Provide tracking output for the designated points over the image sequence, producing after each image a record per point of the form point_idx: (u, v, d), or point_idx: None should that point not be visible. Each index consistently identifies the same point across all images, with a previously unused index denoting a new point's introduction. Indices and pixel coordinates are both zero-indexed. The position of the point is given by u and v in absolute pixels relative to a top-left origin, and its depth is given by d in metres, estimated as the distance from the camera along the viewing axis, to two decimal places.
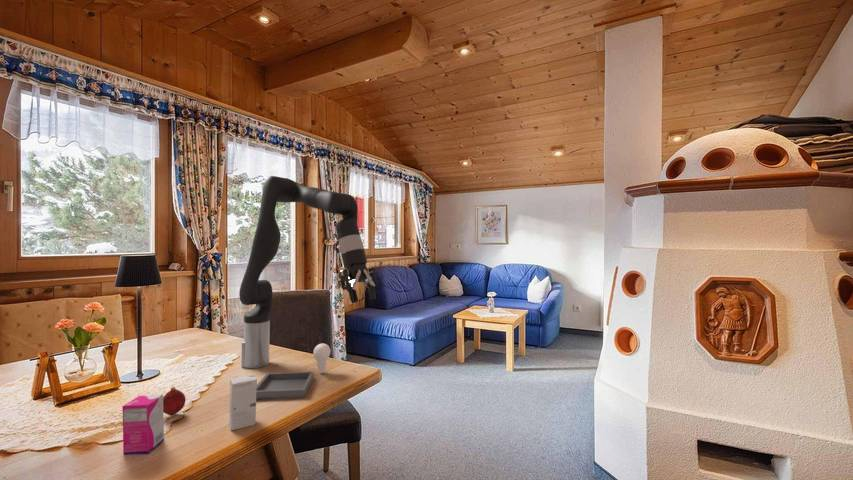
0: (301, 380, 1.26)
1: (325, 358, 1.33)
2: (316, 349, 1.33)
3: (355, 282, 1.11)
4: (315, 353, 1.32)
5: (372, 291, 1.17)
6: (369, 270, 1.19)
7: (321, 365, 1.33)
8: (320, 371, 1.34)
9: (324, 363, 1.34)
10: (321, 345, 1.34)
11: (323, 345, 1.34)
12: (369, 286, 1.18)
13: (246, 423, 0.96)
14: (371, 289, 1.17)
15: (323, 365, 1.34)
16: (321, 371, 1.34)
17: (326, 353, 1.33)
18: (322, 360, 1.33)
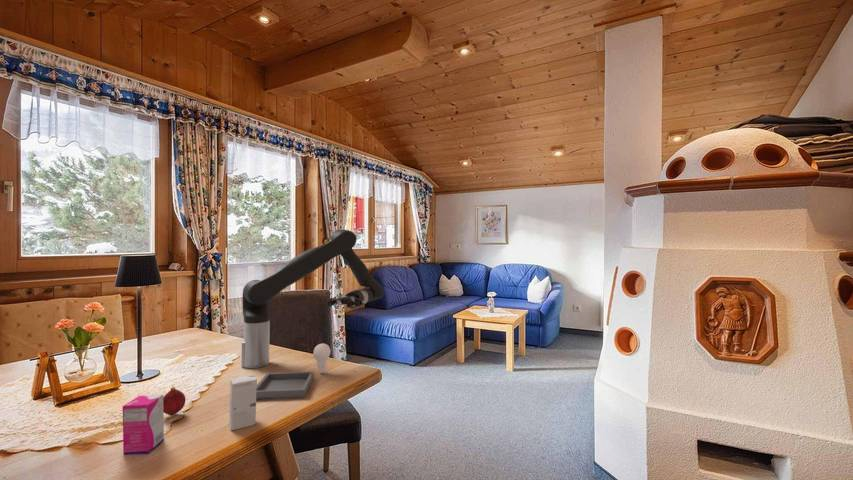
0: (301, 380, 1.26)
1: (325, 358, 1.33)
2: (316, 349, 1.33)
3: None
4: (315, 353, 1.32)
5: (332, 304, 1.51)
6: None
7: (321, 365, 1.33)
8: (320, 371, 1.34)
9: (324, 363, 1.34)
10: (321, 345, 1.34)
11: (323, 345, 1.34)
12: (334, 301, 1.53)
13: (246, 423, 0.96)
14: (333, 303, 1.52)
15: (323, 365, 1.34)
16: (321, 371, 1.34)
17: (326, 353, 1.33)
18: (322, 360, 1.33)
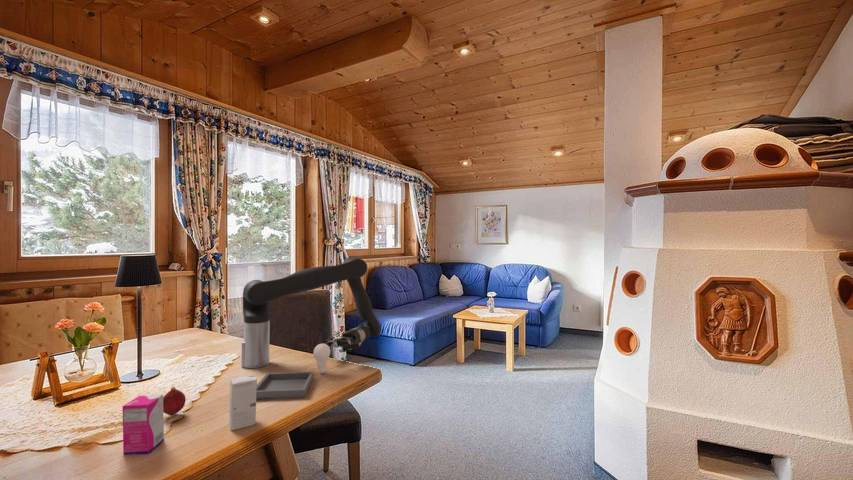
0: (301, 380, 1.26)
1: (325, 358, 1.33)
2: (316, 349, 1.33)
3: None
4: (315, 353, 1.32)
5: None
6: None
7: (321, 365, 1.33)
8: (320, 371, 1.34)
9: (324, 363, 1.34)
10: (321, 345, 1.34)
11: (323, 345, 1.34)
12: (330, 343, 1.48)
13: (246, 423, 0.96)
14: (329, 346, 1.47)
15: (323, 365, 1.34)
16: (321, 371, 1.34)
17: (326, 353, 1.33)
18: (322, 360, 1.33)
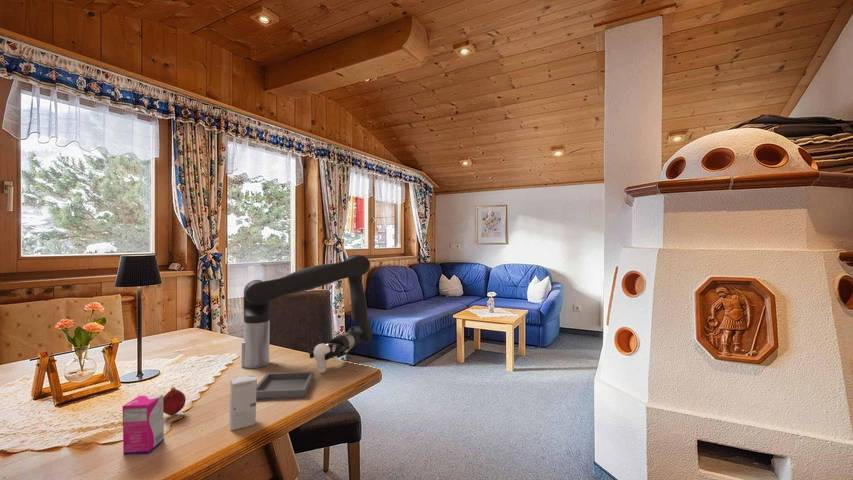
0: (301, 380, 1.26)
1: None
2: (316, 349, 1.33)
3: None
4: (315, 353, 1.32)
5: None
6: None
7: (321, 365, 1.33)
8: (320, 371, 1.34)
9: (324, 363, 1.34)
10: (321, 345, 1.34)
11: (323, 345, 1.34)
12: None
13: (246, 423, 0.96)
14: None
15: (323, 365, 1.34)
16: (320, 371, 1.34)
17: None
18: (322, 360, 1.33)
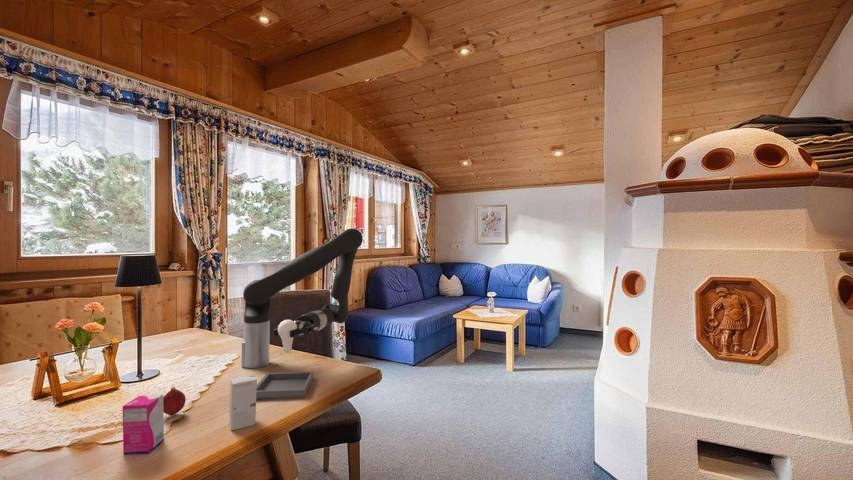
0: (301, 380, 1.26)
1: None
2: (280, 326, 1.19)
3: None
4: (279, 330, 1.19)
5: None
6: None
7: (286, 343, 1.20)
8: (285, 350, 1.20)
9: (290, 341, 1.20)
10: (286, 321, 1.20)
11: (288, 321, 1.20)
12: None
13: (246, 423, 0.96)
14: None
15: (289, 343, 1.20)
16: (286, 350, 1.20)
17: (292, 329, 1.20)
18: (287, 338, 1.20)
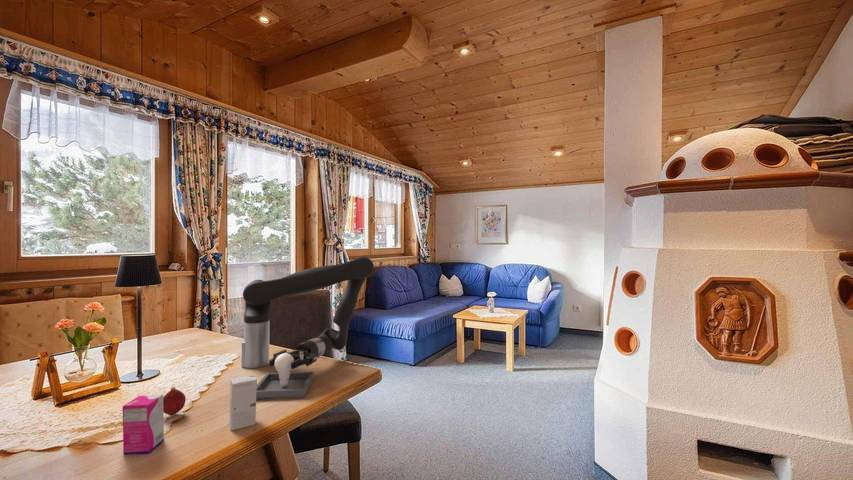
0: (301, 380, 1.26)
1: (288, 370, 1.19)
2: (277, 360, 1.19)
3: None
4: (276, 364, 1.18)
5: None
6: None
7: (283, 378, 1.19)
8: (282, 384, 1.20)
9: (287, 375, 1.20)
10: (283, 355, 1.20)
11: (285, 355, 1.20)
12: None
13: (246, 423, 0.96)
14: None
15: (285, 377, 1.20)
16: (283, 384, 1.20)
17: (289, 364, 1.19)
18: (284, 372, 1.19)
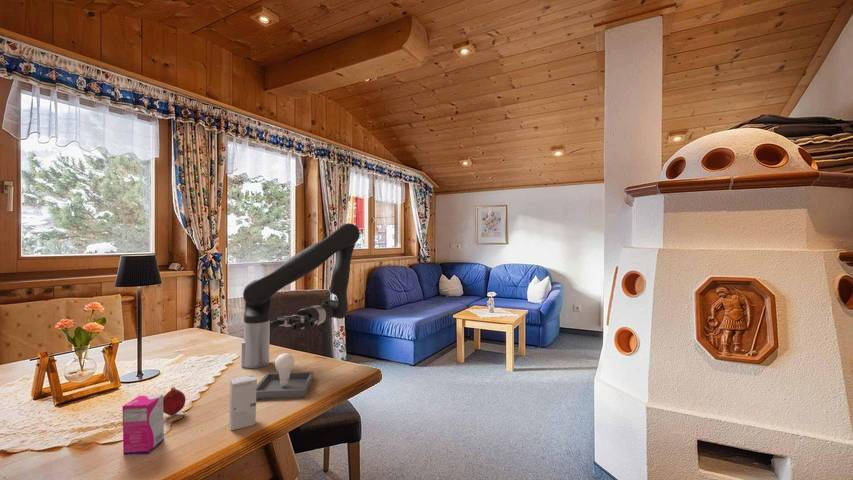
0: (301, 380, 1.26)
1: (288, 370, 1.19)
2: (277, 360, 1.19)
3: None
4: (276, 364, 1.18)
5: (276, 325, 1.23)
6: None
7: (283, 377, 1.19)
8: (282, 384, 1.20)
9: (287, 375, 1.20)
10: (283, 355, 1.20)
11: (286, 355, 1.20)
12: (280, 321, 1.24)
13: (246, 423, 0.96)
14: (278, 324, 1.23)
15: (286, 377, 1.20)
16: (283, 384, 1.20)
17: (289, 364, 1.19)
18: (284, 372, 1.19)
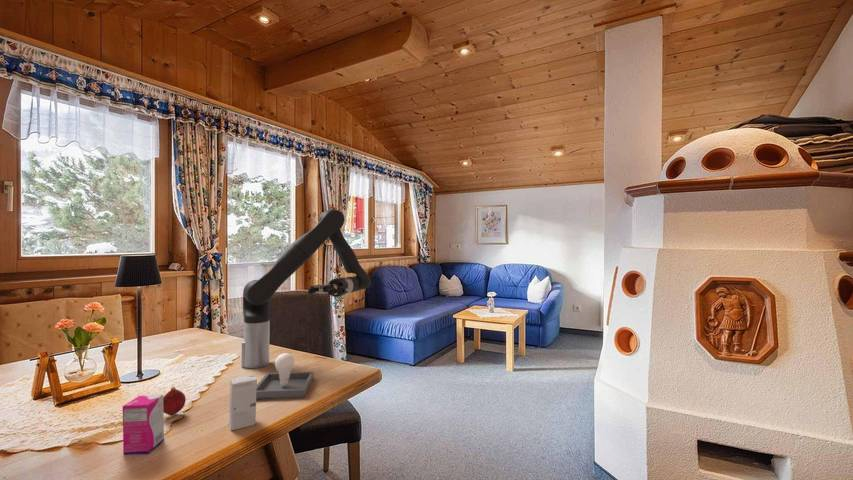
0: (301, 380, 1.26)
1: (288, 370, 1.19)
2: (277, 360, 1.19)
3: (335, 293, 1.41)
4: (276, 364, 1.18)
5: (313, 292, 1.40)
6: None
7: (283, 377, 1.19)
8: (282, 384, 1.20)
9: (287, 375, 1.20)
10: (284, 355, 1.20)
11: (286, 355, 1.20)
12: (315, 289, 1.42)
13: (246, 423, 0.96)
14: (314, 291, 1.41)
15: (286, 377, 1.20)
16: (283, 384, 1.20)
17: (289, 364, 1.19)
18: (284, 372, 1.19)
